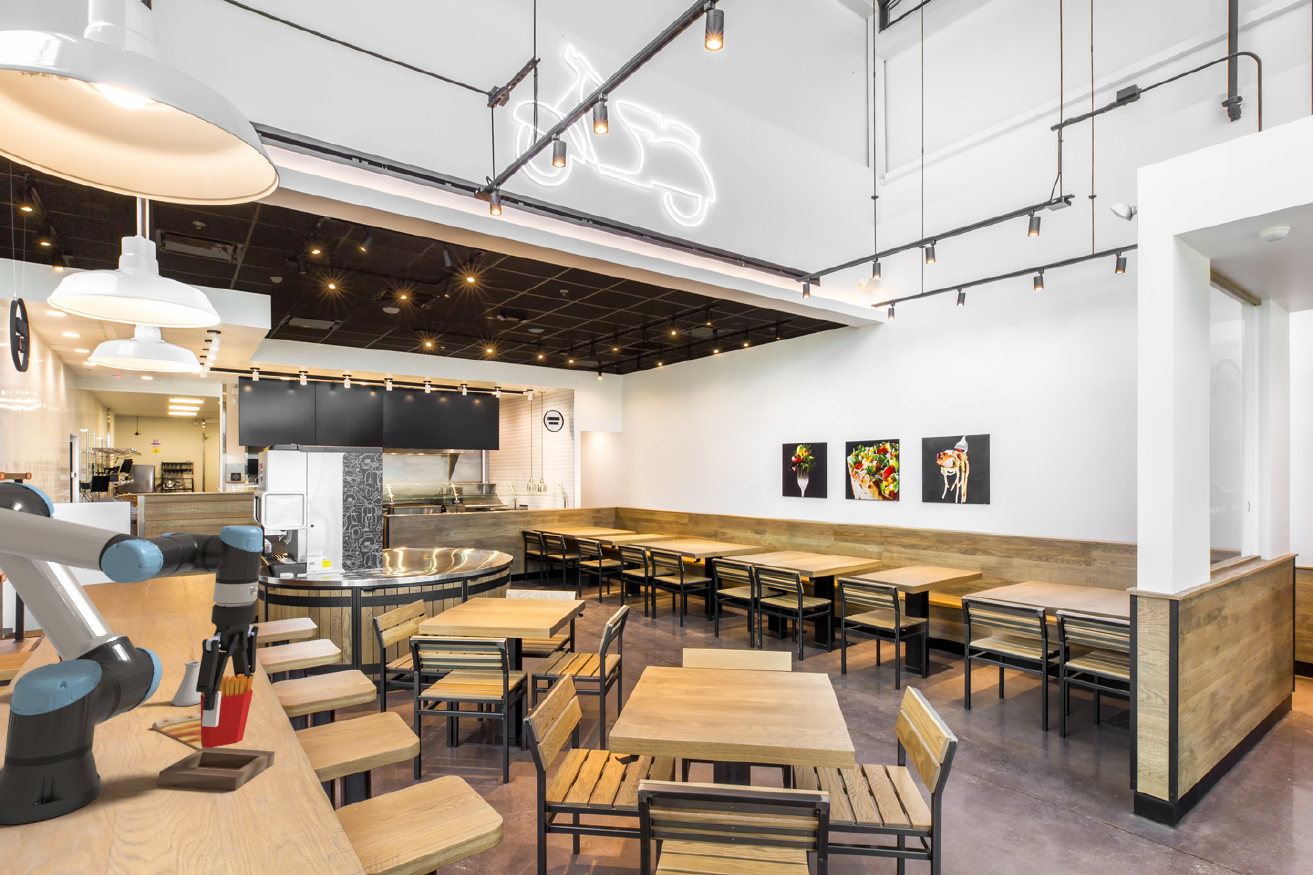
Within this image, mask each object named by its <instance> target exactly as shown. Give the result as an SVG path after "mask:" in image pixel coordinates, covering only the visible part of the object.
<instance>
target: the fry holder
mask: <svg viewBox="0 0 1313 875" xmlns="http://www.w3.org/2000/svg"><path fill="white" fill-rule="evenodd" d="M275 752H276V751H271V750H257V749H244V748H228V747H227V748H225V747H211V748H208V747H203V748H201V749H200V750H198V749H197V750H196V751H195V752H193V753H191V754H189V755H187V756H186V757H183V758H181V759H179V760H178V761H177V762H174V763H172V764H170V765H169V766H167V767H165V768H164V769H162V770H160V771H159V774H158V783H157V786H162V787H164V786H165V787H178V788H191V789H207V790H221V791H223V790H224V791H237V790H238V789H239V788H241V787H242V786H244V785H245V784H247V783H249V782H250V781H252V779H254V778H255V777H257V776H258V775H261V773H262V772H264V771H265V770H267V769H268V768H270V767H272V766H273V765H274V764H275V763H274V762H275ZM202 765H203V766H217V767H229V768H230V767H232V768H240V769H238V770H232V769H231V770H230V769H216V768H215V769H214V768H204V767H201V766H202Z"/></svg>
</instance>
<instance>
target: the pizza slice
mask: <svg viewBox="0 0 1313 875" xmlns="http://www.w3.org/2000/svg"><path fill="white" fill-rule="evenodd" d="M151 728H152V729H153V730H154V731H157V732H159V733H162V734H163V735H165V736H168V737H170V738H172V739H174V740H176V741H178V742H180V743H183V744H185V745H187V746H190V747H192V748H194V749H196V750H197V751H198V750H200V749H201V748H203V747H202V745H201V713H194V714H189V715H184V716H183V715H182V716H177V717H176V716H175V717H172V718H167V719H162V720H158V721H154V722H153V723H152V726H151Z"/></svg>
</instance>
